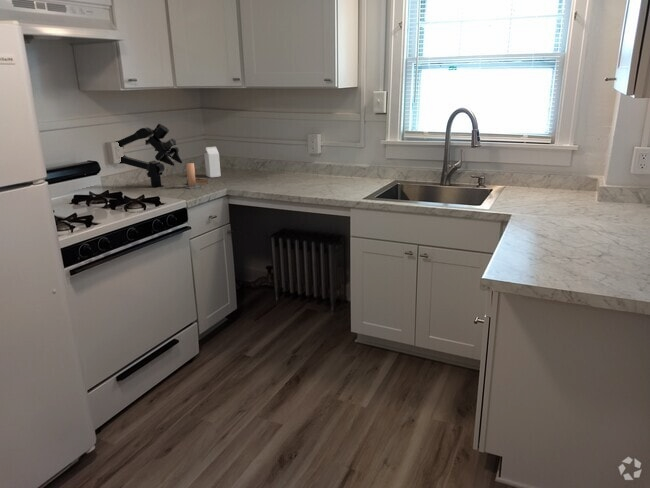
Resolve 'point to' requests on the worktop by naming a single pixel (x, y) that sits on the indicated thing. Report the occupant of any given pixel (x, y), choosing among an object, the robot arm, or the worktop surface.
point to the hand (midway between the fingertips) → (177, 164)
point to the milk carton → (212, 162)
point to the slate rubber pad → (192, 187)
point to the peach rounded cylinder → (191, 174)
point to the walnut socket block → (200, 181)
